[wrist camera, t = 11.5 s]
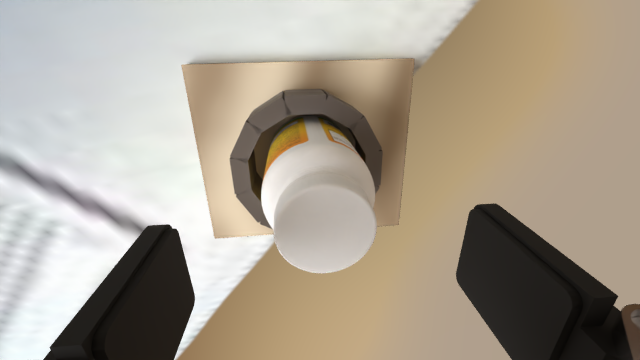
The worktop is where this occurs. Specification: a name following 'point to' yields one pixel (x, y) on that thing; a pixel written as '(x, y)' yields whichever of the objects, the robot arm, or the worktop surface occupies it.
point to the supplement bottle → (318, 196)
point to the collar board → (284, 105)
